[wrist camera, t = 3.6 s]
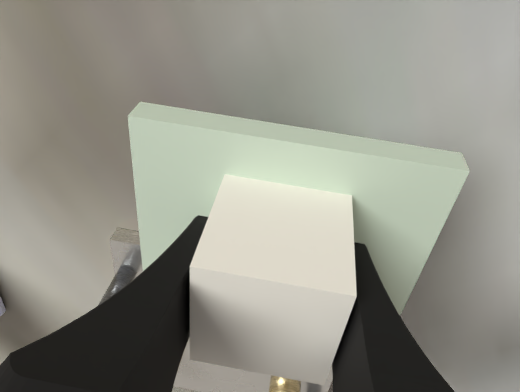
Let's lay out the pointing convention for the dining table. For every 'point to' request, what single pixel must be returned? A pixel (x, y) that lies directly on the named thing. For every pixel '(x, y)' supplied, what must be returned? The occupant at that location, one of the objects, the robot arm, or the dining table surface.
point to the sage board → (298, 157)
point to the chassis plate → (189, 371)
